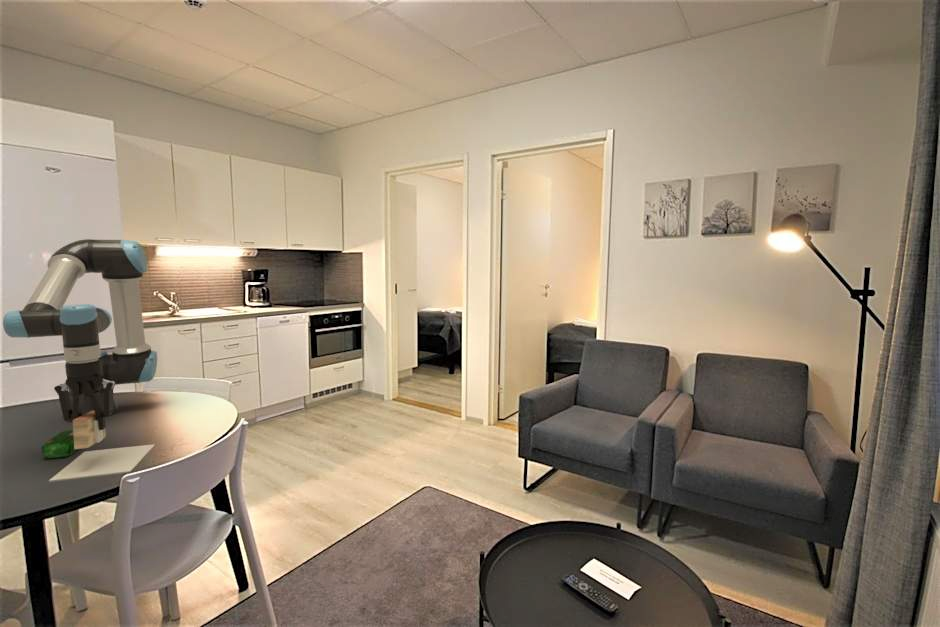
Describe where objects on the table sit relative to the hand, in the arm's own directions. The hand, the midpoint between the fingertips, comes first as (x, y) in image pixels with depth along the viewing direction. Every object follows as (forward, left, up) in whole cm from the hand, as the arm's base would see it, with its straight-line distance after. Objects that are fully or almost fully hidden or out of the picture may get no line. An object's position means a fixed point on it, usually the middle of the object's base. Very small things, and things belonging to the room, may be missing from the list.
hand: (91, 441), depth 124 cm
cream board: (0, +3, -7) cm, 7 cm away
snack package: (-13, -12, -7) cm, 19 cm away
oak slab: (0, 0, 0) cm, 1 cm away
